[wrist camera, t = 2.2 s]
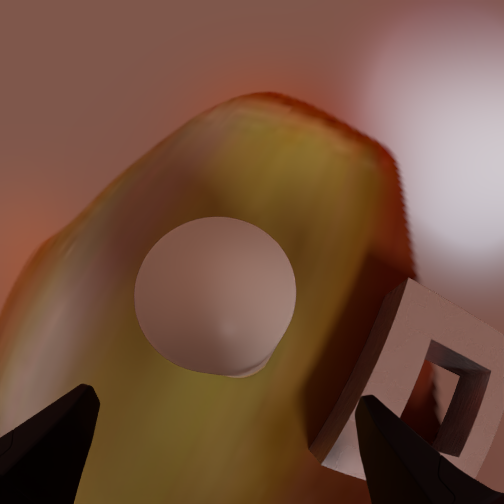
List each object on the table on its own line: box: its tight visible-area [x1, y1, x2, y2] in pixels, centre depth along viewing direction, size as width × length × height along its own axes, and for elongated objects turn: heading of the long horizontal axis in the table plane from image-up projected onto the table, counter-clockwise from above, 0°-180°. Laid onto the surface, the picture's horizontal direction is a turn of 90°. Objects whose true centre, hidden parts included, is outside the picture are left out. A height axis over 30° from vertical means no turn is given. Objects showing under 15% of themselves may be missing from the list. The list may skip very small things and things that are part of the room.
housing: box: [309, 278, 504, 480], centre depth 15 cm, size 12×12×4 cm
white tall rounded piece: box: [134, 217, 296, 378], centre depth 13 cm, size 4×4×12 cm
